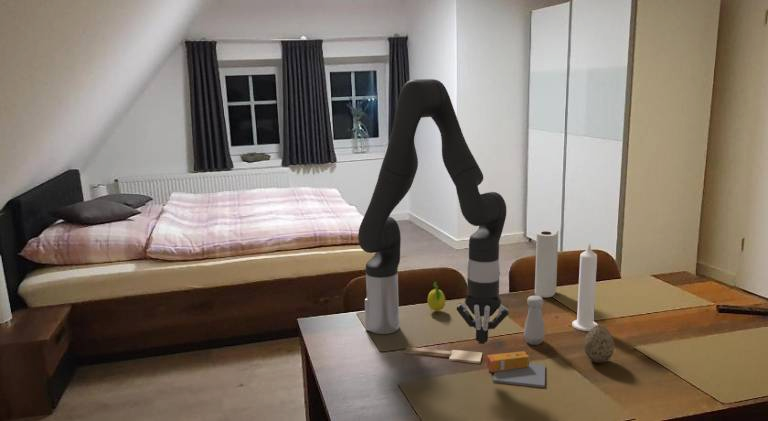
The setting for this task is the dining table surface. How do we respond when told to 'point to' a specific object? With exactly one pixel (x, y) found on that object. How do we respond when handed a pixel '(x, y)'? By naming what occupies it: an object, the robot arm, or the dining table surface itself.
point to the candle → (586, 291)
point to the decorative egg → (599, 344)
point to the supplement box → (507, 361)
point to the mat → (522, 376)
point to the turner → (449, 354)
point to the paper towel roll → (546, 263)
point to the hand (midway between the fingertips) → (482, 342)
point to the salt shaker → (534, 321)
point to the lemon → (436, 299)
